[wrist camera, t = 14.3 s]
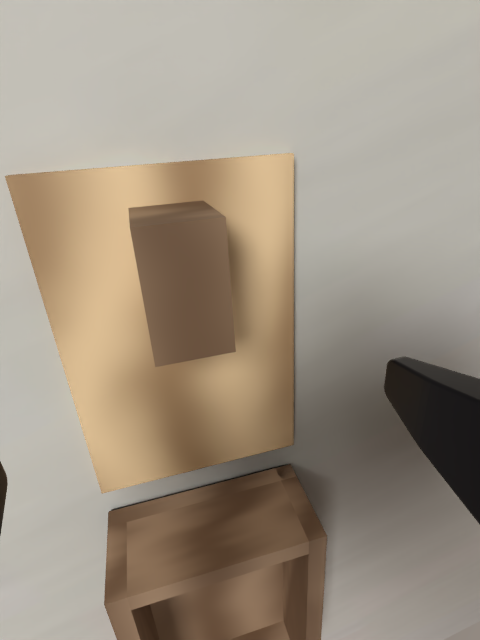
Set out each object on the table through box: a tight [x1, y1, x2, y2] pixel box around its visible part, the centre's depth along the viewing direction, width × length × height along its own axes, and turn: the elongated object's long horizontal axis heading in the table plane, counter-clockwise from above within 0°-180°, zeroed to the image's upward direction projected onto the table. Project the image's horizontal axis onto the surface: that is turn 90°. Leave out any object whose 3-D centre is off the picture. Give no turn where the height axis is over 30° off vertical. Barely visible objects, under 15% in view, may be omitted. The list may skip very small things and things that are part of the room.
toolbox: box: [104, 464, 327, 640], centre depth 24 cm, size 11×19×6 cm, turn 4°
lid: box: [5, 153, 294, 493], centre depth 17 cm, size 11×16×5 cm
